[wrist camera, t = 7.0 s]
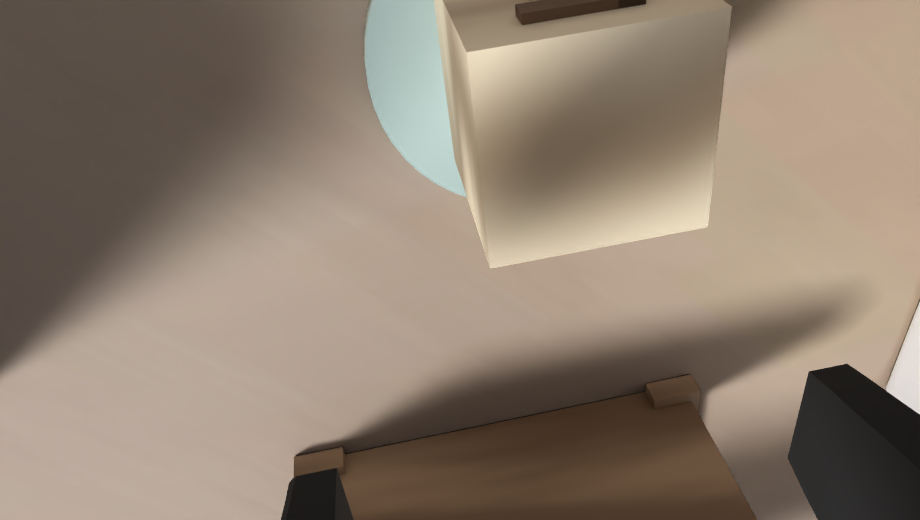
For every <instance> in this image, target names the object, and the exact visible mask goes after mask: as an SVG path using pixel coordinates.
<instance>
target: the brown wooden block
mask: <svg viewBox="0 0 920 520" xmlns="http://www.w3.org/2000/svg"><path fill="white" fill-rule="evenodd" d="M700 396H701V390H700V389H699V387H698V385H697V383H696V382H695V380H694V378H693V377H692V375H686V376H681V377H676V378H671V379H667V380H662V381H657V382H652V383H647V384H646V391H645V392H642V393H637V394H633V395H628V396H623V397H618V398H613V399H609V400H604V401H599V402H594V403H589V404H585V405H580V406H575V407H570V408H565V409H561V410H556V411H551V412H546V413H541V414H537V415H532V416H527V417H522V418H517V419H513V420H508V421H503V422H498V423H493V424H489V425H484V426H479V427H474V428H469V429H465V430H460V431H455V432H450V433H445V434H441V435H436V436H431V437H426V438H421V439H417V440H412V441H407V442H402V443H397V444H393V445H388V446H383V447H378V448H373V449H369V450H364V451H359V452H354V453H350V454H344V451H343V448H342V447H339V448H334V449H330V450H325V451H320V452H315V453H310V454H306V455H301V456H296V457H294V477H295V476H299V475H304V474H309V473H314V472H319V471H323V470H328V469H333V468H337V470H338V473H339V476H340V479H341V482H342V485H343V488H344V491H345V494H346V497H347V500H348V504H349V507H350V510H351V513H352V516H353V519H354V520H757V519H756V517H755V515H754V513H753V512H752V510H751V508H750V506H749V504H748V503H747V501H746V499H745V497H744V495H743V494H742V492H741V490H740V488H739V486H738V484H737V483H736V481H735V479H734V477H733V475H732V474H731V472H730V470H729V468H728V466H727V465H726V463H725V461H724V459H723V457H722V456H721V454H720V452H719V450H718V448H717V447H716V445H715V443H714V441H713V439H712V437H711V436H710V434H709V432H708V430H707V428H706V427H705V425H704V423H703V421H702V419H701V418H700V416H699V414H698V413H699V405H700Z"/></svg>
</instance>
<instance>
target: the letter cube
mask: <svg viewBox="0 0 920 520" xmlns="http://www.w3.org/2000/svg"><path fill="white" fill-rule="evenodd" d="M434 7H435V14H436V22H437V30H438V37H439V45H440V52H441V60H442V68H443V75H444V83H445V91H446V98H447V106H448V113H449V121H450V129H451V136H452V144H453V151H454V159H455V162H456V165H457V168H458V172H459V175H460V178H461V181H462V184H463V187H464V190H465V193H466V196H467V199H468V202H469V205H470V208H471V211H472V214H473V217H474V220H475V224H476V227H477V230H478V233H479V236H480V239H481V242H482V245H483V248H484V251H485V254H486V257H487V260H488V263H489V266H490V269H491V268H496V267H501V266H507V265H512V264H517V263H522V262H528V261H533V260H538V259H543V258H549V257H554V256H559V255H564V254H570V253H575V252H580V251H585V250H590V249H596V248H601V247H606V246H611V245H617V244H622V243H627V242H632V241H638V240H643V239H648V238H653V237H659V236H664V235H669V234H674V233H679V232H685V231H690V230H695V229H700V228H706V227H708V220H709V211H710V202H711V193H712V184H713V175H714V166H715V157H716V148H717V139H718V130H719V121H720V112H721V102H722V93H723V84H724V75H725V66H726V57H727V48H728V39H729V30H730V21H731V12H732V6H730V5H729V4H728V3H726V2H725V1H723V0H434Z"/></svg>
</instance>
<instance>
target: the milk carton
mask: <svg viewBox="0 0 920 520" xmlns="http://www.w3.org/2000/svg"><path fill="white" fill-rule="evenodd" d="M886 391H887V392H888V393H890V394H891V395H893V396H894V397H896V398H897V399H898V400H900V401H901V402H903V403H904V404H905V405H907V406H908V407H910V408H911V409H913V410H914V411H915V412H917V413H918V414H920V302H919V304H918V307H917V309H916V312H915V314H914V317H913V319H912V322H911V325H910V327H909V330H908V332H907V335H906V337H905V340H904V342H903V345H902V348H901V350H900V353H899V355H898V358H897V360H896V363H895V366H894V368H893V371H892V373H891V376H890V378H889V381H888V384H887V386H886Z"/></svg>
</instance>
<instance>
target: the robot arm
mask: <svg viewBox="0 0 920 520" xmlns="http://www.w3.org/2000/svg"><path fill="white" fill-rule="evenodd" d="M788 459H789V461H790V464H791V466H792V468H793V470H794V472H795V474H796V476H797V478H798V481H799V483H800V485H801V487H802V489H803V491H804V493H805V495H806V497H807V499H808V501H809V503H810V505H811V507H812V509H813V511H814V513H815V515H816V517H817V519H818V520H920V414H918V413H917V412H915V411H914V410H913V409H911V408H910V407H908V406H907V405H905V404H904V403H903V402H901V401H900V400H898V399H897V398H896V397H894V396H893V395H891V394H890V393H888V392H887V391H886V390H884V389H883V388H881V387H880V386H879V385H877V384H876V383H874V382H873V381H871V380H870V379H869V378H867V377H866V376H864V375H863V374H861V373H860V372H858V371H857V370H855V369H854V368H853V367H851V366H850V365H848V364H844V365H839V366H834V367H829V368H824V369H819V370H814V371H810V372H809V373H808V377H807V382H806V386H805V390H804V394H803V398H802V402H801V406H800V410H799V414H798V418H797V422H796V426H795V431H794V435H793V439H792V443H791V447H790V451H789V455H788ZM281 520H354V519H353V516H352V513H351V510H350V507H349V504H348V500H347V497H346V494H345V491H344V488H343V485H342V482H341V479H340V476H339V473H338V470H337V468H333V469H328V470H323V471H319V472H314V473H309V474H304V475H299V476H295V477H294V478H293V479H292V480H291V481H290V483H289V486H288V491H287V496H286V501H285V505H284V509H283V513H282V517H281Z"/></svg>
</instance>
